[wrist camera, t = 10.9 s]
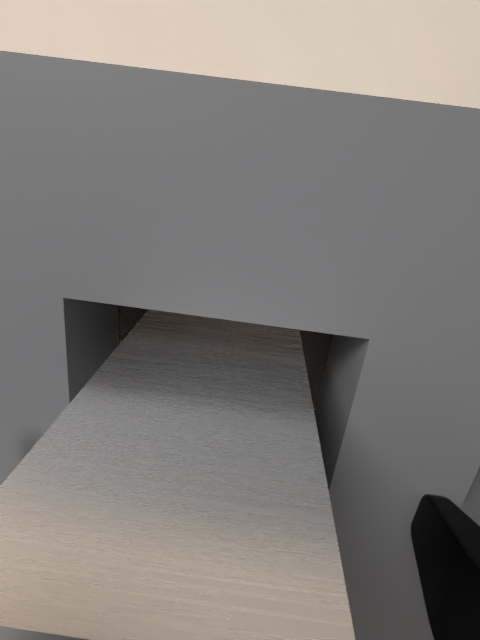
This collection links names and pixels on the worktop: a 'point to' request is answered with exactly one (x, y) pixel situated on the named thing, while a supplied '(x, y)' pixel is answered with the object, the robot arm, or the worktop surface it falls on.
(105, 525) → the square peg
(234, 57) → the worktop surface
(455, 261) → the socket board
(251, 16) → the worktop surface
